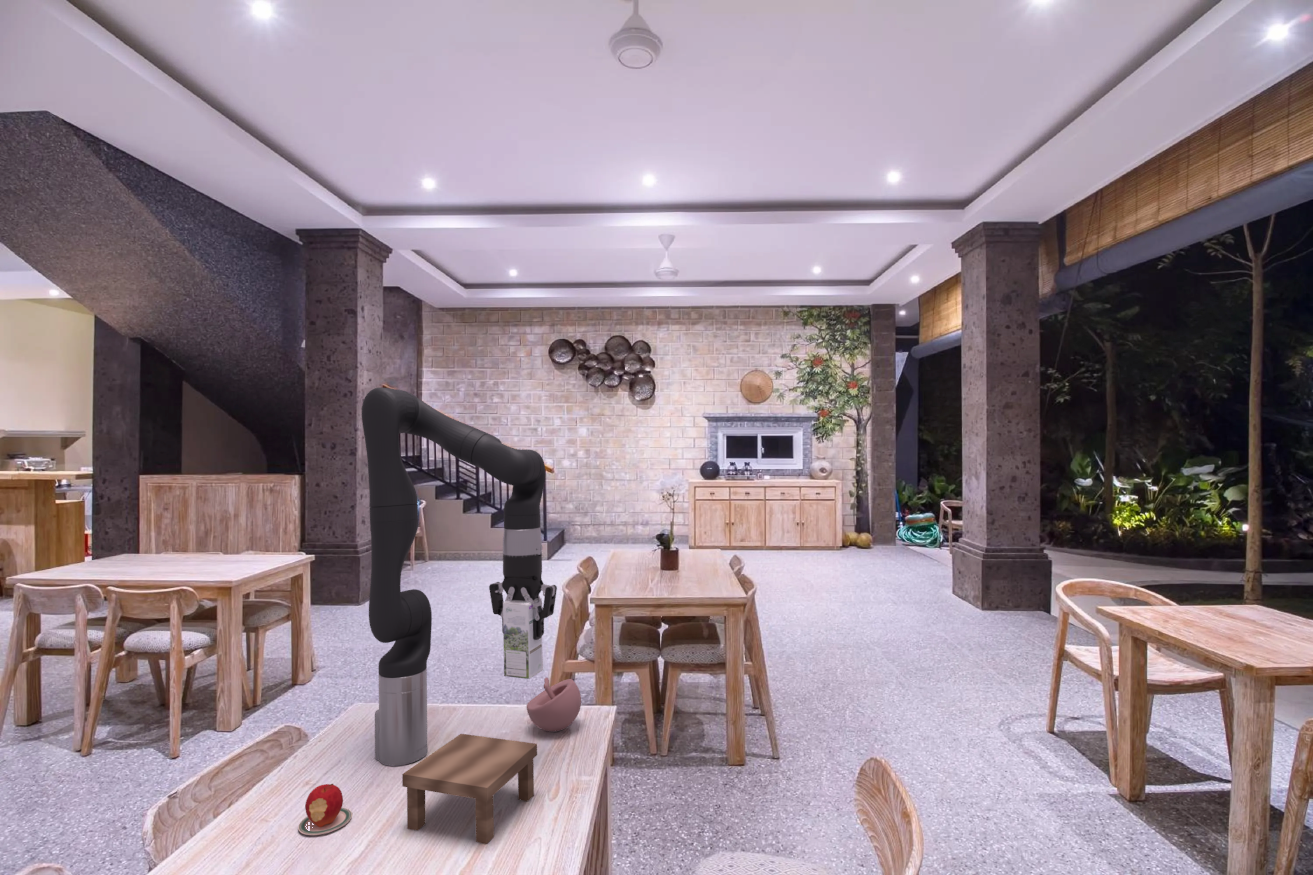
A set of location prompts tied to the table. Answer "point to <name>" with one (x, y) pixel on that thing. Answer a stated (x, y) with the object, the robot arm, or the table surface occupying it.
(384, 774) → the table surface
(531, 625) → the syrup box
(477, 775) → the walnut stool
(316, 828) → the apple
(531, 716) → the mortar and pestle
